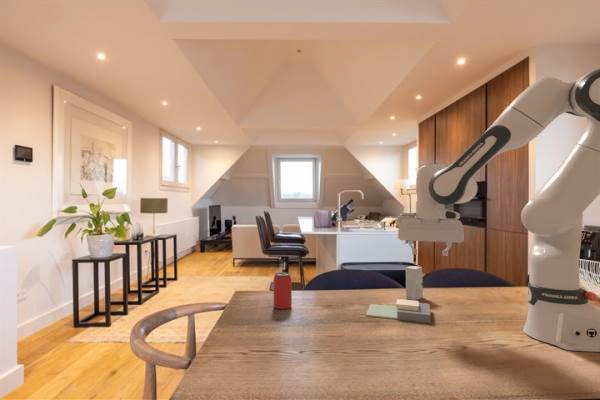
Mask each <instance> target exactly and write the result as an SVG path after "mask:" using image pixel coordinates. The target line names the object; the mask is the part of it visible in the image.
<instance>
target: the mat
mask: <svg viewBox="0 0 600 400" xmlns="http://www.w3.org/2000/svg"><path fill="white" fill-rule="evenodd" d="M397 310H398V309H396V305H384V304H374V303H370V304H369V307H368V309H367V311H366V314H365V316H366V317H371V318H379V319H380V318H381V319H390V320H398V319H397Z"/></svg>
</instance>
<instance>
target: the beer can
mask: <svg viewBox="0 0 600 400" xmlns="http://www.w3.org/2000/svg"><path fill="white" fill-rule="evenodd" d="M292 297H293V296H292V277H291V274H290V273H289V272H283V271H282V272H276V273H274V277H273V308H275V309H276V310H288V309H290V308H291V307H292V305H293V303H292V301H293V300H292Z"/></svg>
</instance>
